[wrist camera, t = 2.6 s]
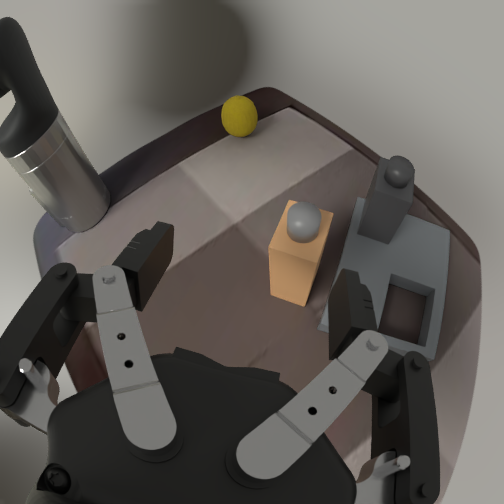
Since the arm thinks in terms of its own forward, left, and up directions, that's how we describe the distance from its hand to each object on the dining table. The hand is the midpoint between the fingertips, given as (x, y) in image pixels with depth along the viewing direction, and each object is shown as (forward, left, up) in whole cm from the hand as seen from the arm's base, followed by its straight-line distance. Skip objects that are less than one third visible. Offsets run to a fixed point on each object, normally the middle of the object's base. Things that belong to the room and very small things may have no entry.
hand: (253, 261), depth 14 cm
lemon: (-2, +32, -19) cm, 38 cm away
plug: (+4, +7, -19) cm, 21 cm away
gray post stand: (+15, +6, -19) cm, 25 cm away
